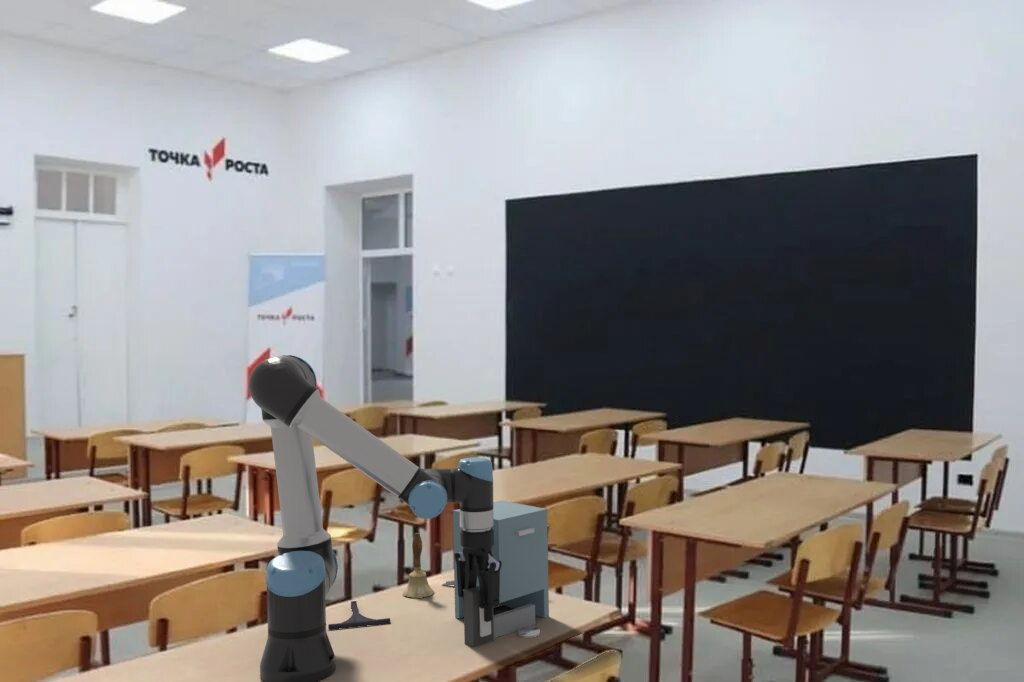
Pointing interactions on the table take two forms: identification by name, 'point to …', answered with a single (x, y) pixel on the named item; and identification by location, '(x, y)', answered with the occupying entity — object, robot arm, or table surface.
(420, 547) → the hand bell
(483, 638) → the grey l-bracket
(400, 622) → the table surface
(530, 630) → the steel token
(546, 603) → the cabinet
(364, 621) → the dark squeegee
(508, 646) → the table surface
